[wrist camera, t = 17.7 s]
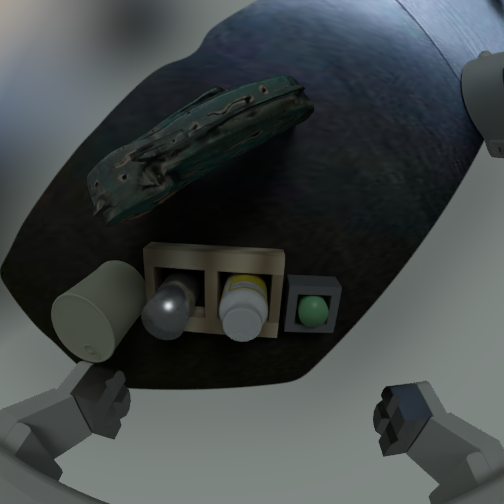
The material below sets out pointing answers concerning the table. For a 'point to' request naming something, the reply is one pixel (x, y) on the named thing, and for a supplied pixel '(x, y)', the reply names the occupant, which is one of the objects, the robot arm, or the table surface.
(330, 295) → the button box
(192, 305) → the seated billet
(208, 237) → the table surface
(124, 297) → the can
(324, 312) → the button
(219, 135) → the green curved lump
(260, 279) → the supplement bottle
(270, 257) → the rack
